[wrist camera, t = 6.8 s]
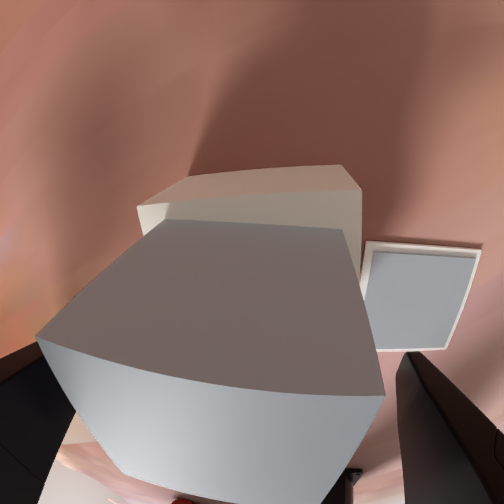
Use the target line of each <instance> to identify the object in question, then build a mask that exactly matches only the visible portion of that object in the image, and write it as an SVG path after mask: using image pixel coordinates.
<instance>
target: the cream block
mask: <svg viewBox="0 0 504 504" xmlns="http://www.w3.org/2000/svg"><path fill="white" fill-rule="evenodd" d="M137 211H138V215H139V219H140V224H141V228H142V232H143V236H144V235H146V234H147V233H148V232H149V231H150V230H152V229H153V228H154V227H155V226H157V225H158V224H159V223H160V222H162V221H163V220H164V219H171V220H196V221H217V222H237V223H255V224H272V225H288V226H303V227H317V228H330V229H342V230H343V233H344V236H345V240H346V243H347V246H348V249H349V252H350V255H351V259H352V262H353V265H354V268H355V272H356V275H357V279H358V282H359V281H360V264H361V239H362V189H361V188H360V187H359V186H358V184H357V183H356V182H355V181H354V179H353V178H352V177H351V176H350V175H349V173H348V172H347V171H346V170H345V169H344V167H343V166H342V165H316V166H295V167H279V168H265V169H253V170H242V171H231V172H221V173H212V174H203V175H195V176H187V177H186V178H184V179H182V180H180V181H178V182H177V183H175V184H173V185H171V186H170V187H168V188H166V189H164V190H163V191H161V192H159V193H158V194H156V195H154V196H153V197H151V198H149V199H148V200H146V201H144V202H143V203H141V204H139V205H138V206H137Z"/></svg>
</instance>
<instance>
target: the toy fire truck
mask: <svg viewBox="0 0 504 504" xmlns="http://www.w3.org/2000/svg"><path fill="white" fill-rule="evenodd" d="M172 504H193V503H192V502H191V501H189V500H187V499H177V500H175V501H173V502H172Z"/></svg>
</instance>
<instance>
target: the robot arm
mask: <svg viewBox="0 0 504 504" xmlns="http://www.w3.org/2000/svg"><path fill="white" fill-rule="evenodd" d="M396 396H397V421H398V434H399V441H400V449H401V458H402V468H403V479H404V492H405V504H504V434H503V433H502V432H501V431H500V430H499V429H497V427H496V426H495V425H494V424H493V423H492V422H491V421H490V420H489V419H488V418H487V417H486V416H485V415H484V414H483V413H482V412H481V411H480V410H479V409H478V408H477V407H476V406H475V405H474V404H473V403H472V402H471V401H470V400H469V399H468V398H467V397H466V396H465V395H464V394H463V393H462V392H461V391H460V390H459V389H458V388H457V387H456V386H455V385H454V384H453V383H452V382H451V381H450V380H449V379H448V378H447V377H446V376H445V375H444V374H443V373H442V372H441V371H440V370H439V369H438V368H436V367H435V366H434V365H433V364H432V363H431V362H430V361H429V360H428V359H427V358H426V357H425V356H424V355H423V354H422V353H420V352H418V351H414V352H406V353H405V354H404V356H403V358H402V361H401V363H400V365H399V368H398V370H397V373H396ZM75 413H76V410H75V409H74V407H73V405H72V404H71V402H70V401H69V399H68V397H67V396H66V394H65V392H64V391H63V389H62V387H61V386H60V384H59V382H58V380H57V379H56V377H55V375H54V373H53V371H52V370H51V368H50V366H49V364H48V362H47V360H46V358H45V356H44V354H43V352H42V350H41V348H40V346H39V344H38V342H37V341H36V342H34V343H32V344H30V345H28V346H26V347H24V348H22V349H20V350H17V351H15V352H13V353H11V354H9V355H7V356H5V357H3V358H1V359H0V504H37V503H38V501H39V498H40V495H41V493H42V490H43V487H44V485H45V484H44V483H45V482H46V479H47V476H48V474H49V472H50V469H51V467H52V464H53V462H54V460H55V457H56V455H57V452H58V450H59V448H60V446H61V443H62V441H63V439H64V437H65V434H66V432H67V430H68V428H69V425H70V423H71V421H72V419H73V417H74V415H75ZM362 474H363V470H361V469H357V470H344V471H343V472H342V474H341V475H340V477H339V478H338V480H337V481H336V483H335V484H334V485H333V487H332V488H331V490H330V491H329V493H328V494H327V495H326V497H325V498H324V500H323V501H322V502H321V504H353V486H354V485H355V484H356V482H357V481H358V480H359V478H360V477H361V476H362Z"/></svg>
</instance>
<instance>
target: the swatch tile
mask: <svg viewBox="0 0 504 504" xmlns="http://www.w3.org/2000/svg"><path fill="white" fill-rule="evenodd" d="M481 251H482V250H481V249H474V248H462V247H449V246H436V245H422V244H408V243H393V242H378V241H366V243H365V250H364V257H363V263H362V269H361V275H360V281H359V285H360V289H361V293H362V296H363V300H364V303H365V307H366V311H367V315H368V319H369V323H370V327H371V331H372V335H373V339H374V343H375V347H376V352H395V351H428V350H446V349H447V346H448V344H449V342H450V340H451V337H452V335H453V333H454V330H455V328H456V326H457V323H458V321H459V318H460V316H461V313H462V310H463V308H464V305H465V302H466V299H467V297H468V294H469V291H470V288H471V285H472V282H473V279H474V276H475V272H476V269H477V266H478V262H479V259H480V255H481Z"/></svg>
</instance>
